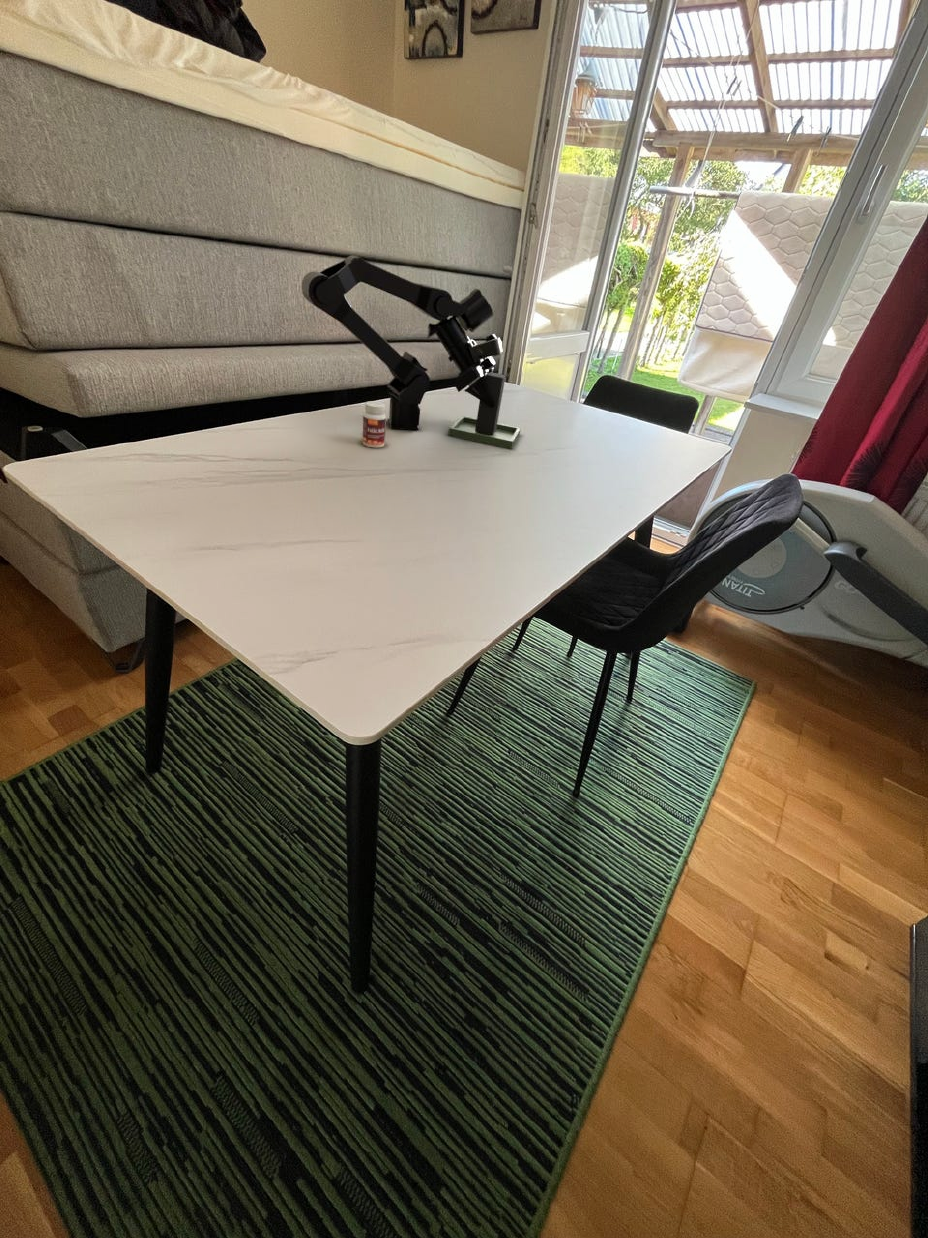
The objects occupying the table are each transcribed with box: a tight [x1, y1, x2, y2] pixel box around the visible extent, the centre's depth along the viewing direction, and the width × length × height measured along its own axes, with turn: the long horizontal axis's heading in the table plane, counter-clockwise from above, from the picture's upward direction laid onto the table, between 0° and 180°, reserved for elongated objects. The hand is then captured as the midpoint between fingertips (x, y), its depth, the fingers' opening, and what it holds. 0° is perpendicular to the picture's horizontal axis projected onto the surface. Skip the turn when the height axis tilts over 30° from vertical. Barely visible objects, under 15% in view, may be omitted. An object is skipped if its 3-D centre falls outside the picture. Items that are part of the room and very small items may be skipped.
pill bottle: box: [362, 400, 387, 449], centre depth 109 cm, size 5×5×8 cm
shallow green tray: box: [448, 415, 522, 450], centre depth 127 cm, size 16×13×2 cm
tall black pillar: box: [475, 372, 506, 435], centre depth 123 cm, size 4×4×13 cm
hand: (495, 404), depth 123 cm, fingers closed on tall black pillar, 4 cm apart
